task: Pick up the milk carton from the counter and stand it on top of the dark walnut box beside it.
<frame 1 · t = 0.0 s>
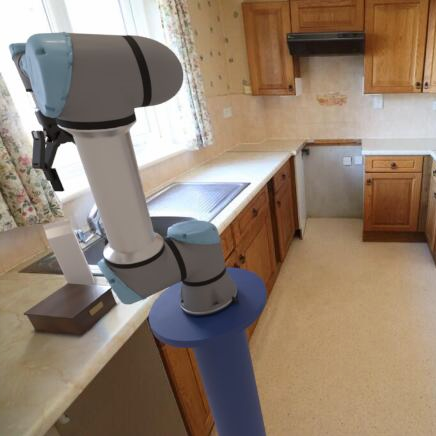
hand: (80, 183, 96), 31 cm above the counter, tool pointing down, fingers open, 13 cm apart
walnut box: (78, 316, 88), on the counter
milk: (83, 285, 101), on the counter
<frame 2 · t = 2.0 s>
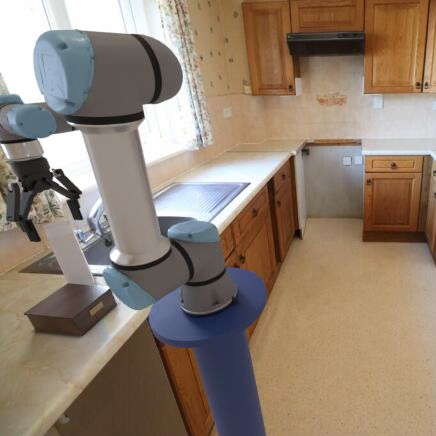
hand: (58, 229, 93), 20 cm above the counter, tool pointing down, fingers open, 13 cm apart
nothing on the counter moved.
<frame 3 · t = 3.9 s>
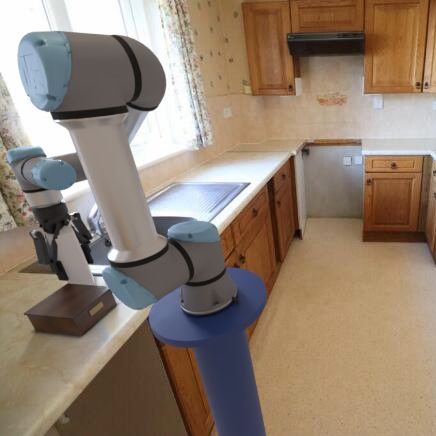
hand: (77, 271, 99), 5 cm above the counter, tool pointing down, fingers closed on milk, 8 cm apart
milk: (83, 285, 101), on the counter, touching gripper
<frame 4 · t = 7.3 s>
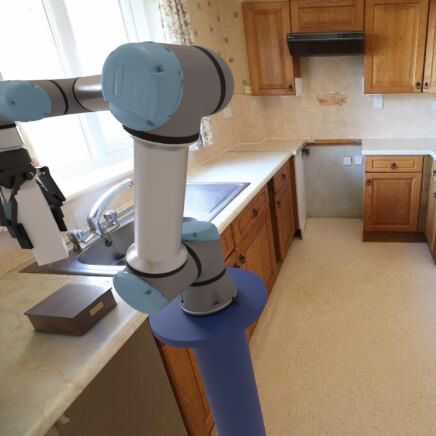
hand: (46, 239, 80), 23 cm above the counter, tool pointing down, fingers closed on milk, 8 cm apart
milk: (54, 257, 83), point 17 cm above the counter, touching gripper
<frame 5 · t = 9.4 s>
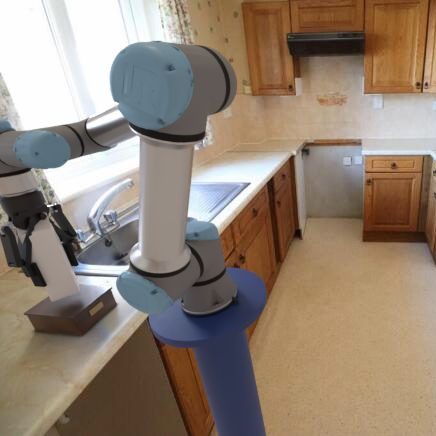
hand: (58, 274, 82), 14 cm above the counter, tool pointing down, fingers closed on milk, 8 cm apart
milk: (66, 292, 84), point 8 cm above the counter, touching gripper
when the fingers open (11 cm above the counter, at t = 10.6 s): milk stays where it is, resting on walnut box.
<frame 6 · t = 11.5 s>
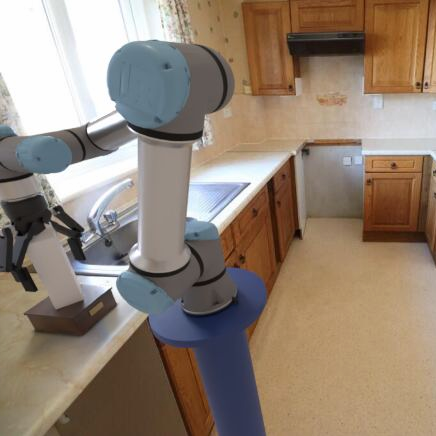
hand: (58, 274, 82), 14 cm above the counter, tool pointing down, fingers open, 13 cm apart
milk: (69, 299, 85), point 6 cm above the counter, touching walnut box
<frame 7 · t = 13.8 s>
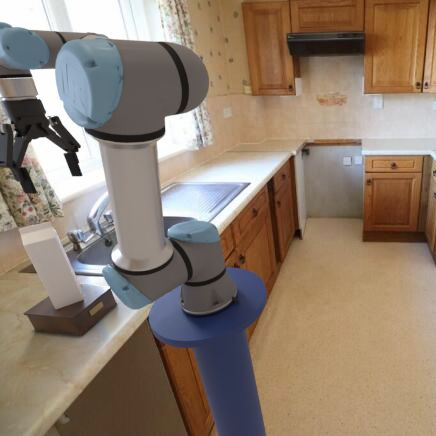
hand: (56, 184, 85), 34 cm above the counter, tool pointing down, fingers open, 13 cm apart
nothing on the counter moved.
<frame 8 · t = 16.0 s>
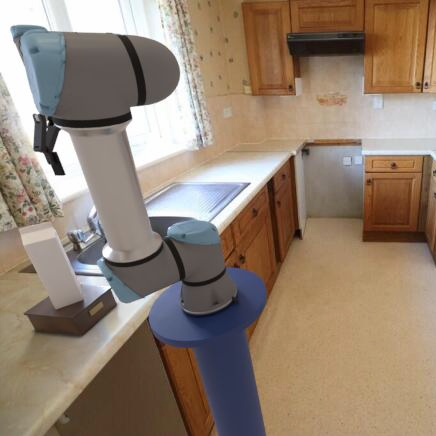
hand: (81, 168, 96), 35 cm above the counter, tool pointing down, fingers open, 13 cm apart
nothing on the counter moved.
at the end: milk inside the target area on the walnut box (0.1 cm from its centre), point 5.8 cm above the walnut box's base; milk tilted 0°; the gripper is holding nothing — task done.
